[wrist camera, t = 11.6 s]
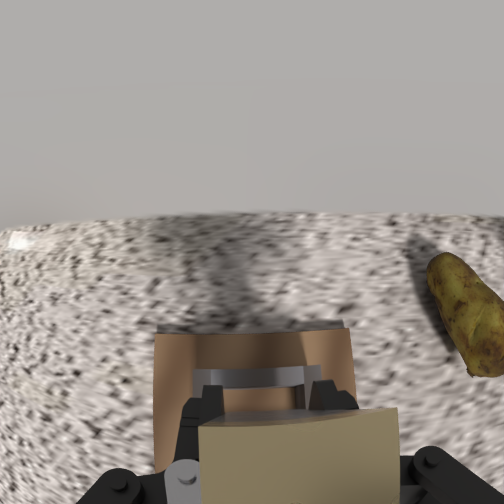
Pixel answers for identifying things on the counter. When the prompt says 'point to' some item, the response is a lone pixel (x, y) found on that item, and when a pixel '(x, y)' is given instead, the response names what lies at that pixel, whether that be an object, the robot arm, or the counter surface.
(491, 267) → the counter surface
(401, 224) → the counter surface
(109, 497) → the robot arm
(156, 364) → the well board
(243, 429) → the tall square pillar
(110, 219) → the counter surface
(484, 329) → the potato
